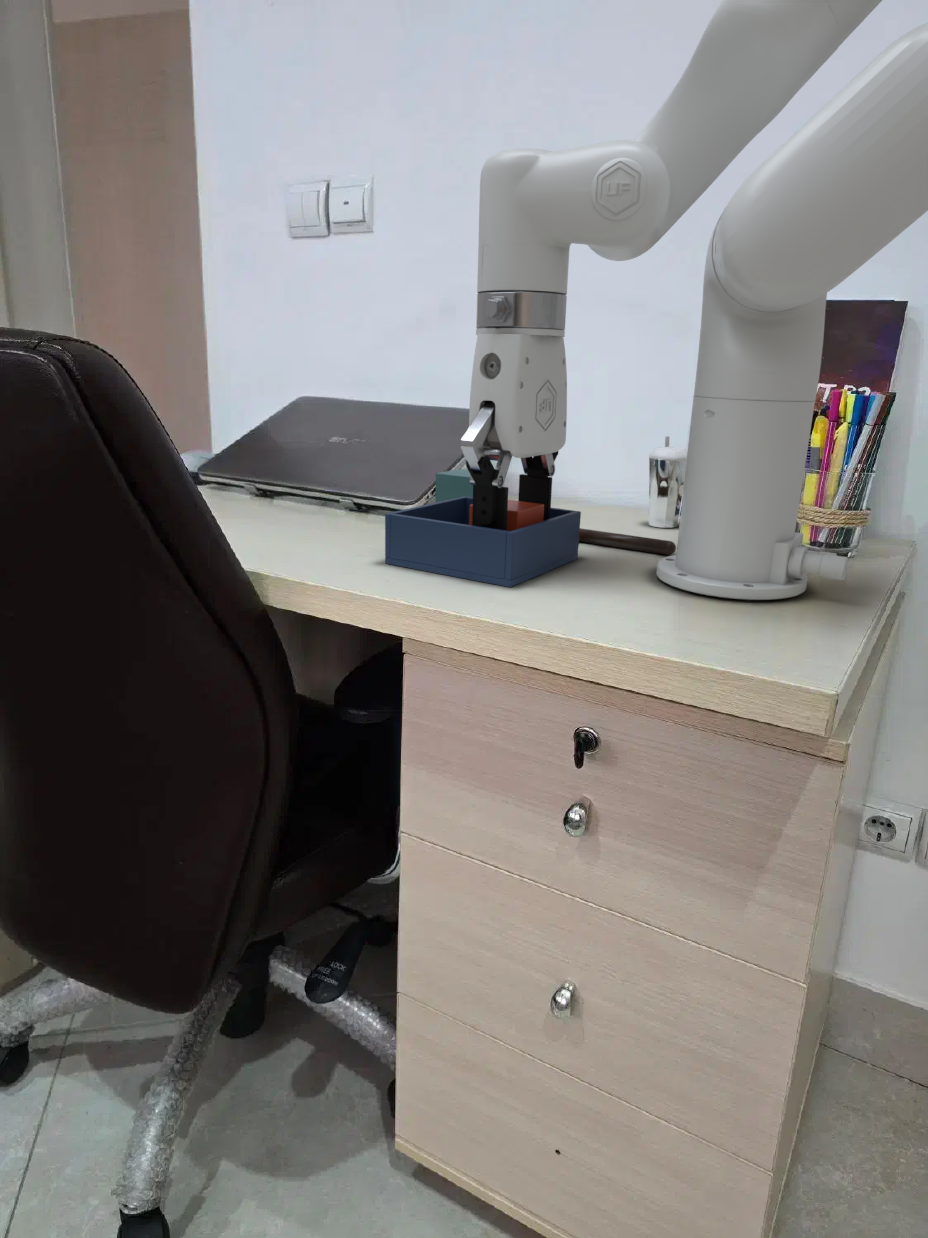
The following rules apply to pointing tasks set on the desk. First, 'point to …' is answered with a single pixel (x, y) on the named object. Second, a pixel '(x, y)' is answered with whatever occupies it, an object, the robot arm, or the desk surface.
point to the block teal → (453, 485)
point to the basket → (478, 543)
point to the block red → (520, 514)
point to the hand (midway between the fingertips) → (512, 523)
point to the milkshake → (666, 484)
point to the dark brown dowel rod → (627, 541)
